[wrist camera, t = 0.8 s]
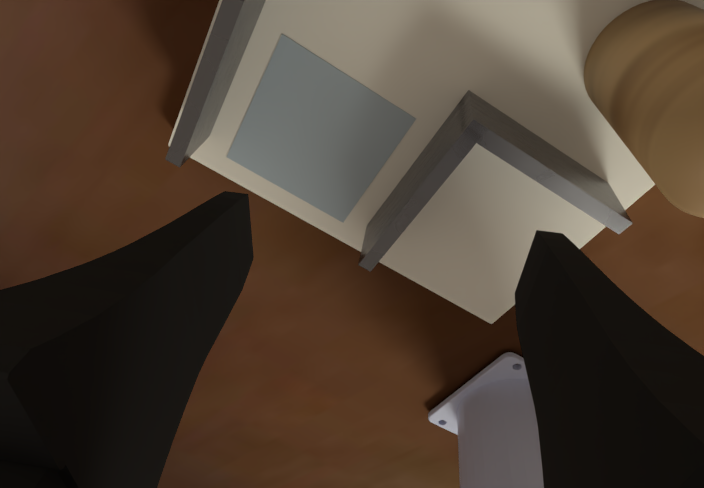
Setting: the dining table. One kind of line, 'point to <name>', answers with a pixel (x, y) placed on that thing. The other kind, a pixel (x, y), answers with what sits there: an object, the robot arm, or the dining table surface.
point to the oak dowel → (655, 93)
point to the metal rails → (431, 165)
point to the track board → (420, 126)
